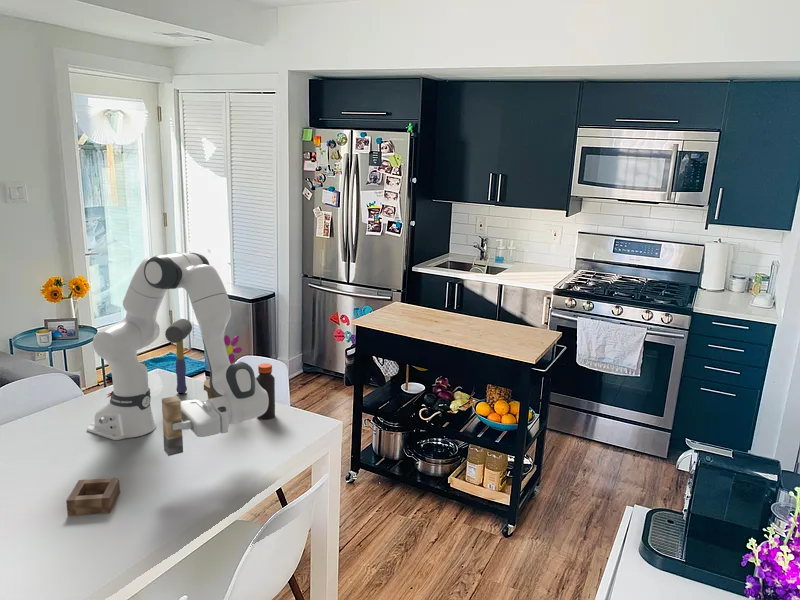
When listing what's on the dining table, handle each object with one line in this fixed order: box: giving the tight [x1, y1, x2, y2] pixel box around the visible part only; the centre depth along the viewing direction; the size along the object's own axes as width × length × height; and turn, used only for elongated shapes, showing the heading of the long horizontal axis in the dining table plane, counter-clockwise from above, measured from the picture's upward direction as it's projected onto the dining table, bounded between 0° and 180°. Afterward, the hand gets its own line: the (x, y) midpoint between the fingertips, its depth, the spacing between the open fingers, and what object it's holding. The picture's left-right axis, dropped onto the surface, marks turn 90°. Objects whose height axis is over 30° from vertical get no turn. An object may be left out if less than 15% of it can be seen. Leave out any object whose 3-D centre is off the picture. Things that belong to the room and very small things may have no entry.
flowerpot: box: [203, 334, 243, 400], centre depth 229 cm, size 14×14×30 cm
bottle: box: [255, 362, 276, 421], centre depth 223 cm, size 7×7×20 cm
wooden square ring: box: [65, 477, 121, 517], centre depth 165 cm, size 10×10×4 cm
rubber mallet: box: [165, 318, 193, 394], centre depth 240 cm, size 12×8×30 cm, turn 1°
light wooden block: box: [161, 395, 184, 457], centre depth 172 cm, size 4×4×16 cm
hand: (169, 423), depth 172 cm, fingers closed on light wooden block, 4 cm apart
